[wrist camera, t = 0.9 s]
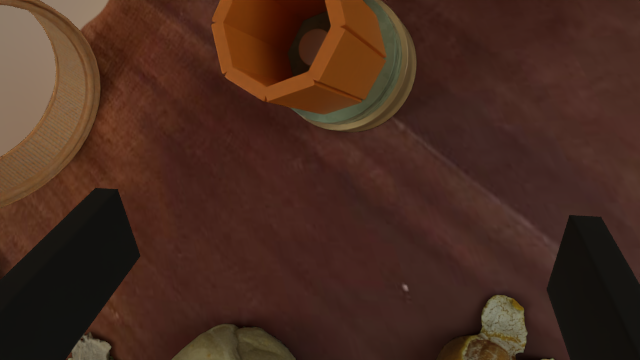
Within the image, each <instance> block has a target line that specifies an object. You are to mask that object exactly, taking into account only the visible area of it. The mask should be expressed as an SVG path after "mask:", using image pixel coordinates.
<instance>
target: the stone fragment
mask: <svg viewBox="0 0 640 360" xmlns="http://www.w3.org/2000/svg"><path fill="white" fill-rule="evenodd" d="M84 334H85V333H84ZM81 338H83V341H81V340H79V341H78V343H77V344H76V345H75V347H74V348H73V350H72V351H71V353H72V356H73V358H69V359H68V360H110V359H109V357H110V358H111V360H112V359H113V357H111V356H109V355H110V352H109V350H110V349H111V346H110V344H108V343H107V342H106V341H104V340H102V341H100V340H99V339H94V337H93V338H92V335H91V332H89V333H88V334H87V335H86V336H84V335H83V336H82V337H81ZM74 356H75V357H74ZM113 360H114V359H113Z"/></svg>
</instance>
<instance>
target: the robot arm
mask: <svg viewBox="0 0 640 360" xmlns="http://www.w3.org/2000/svg"><path fill="white" fill-rule="evenodd" d="M139 257H140V253H139V250H138V247H137V244H136V241H135V238H134V236H133V233H132V230H131V227H130V224H129V221H128V218H127V215H126V212H125V209H124V206H123V203H122V201H121V198H120V195H119V192H118V189H104V188H95V189H94V190H93V191H92V192H91V193H90V194H89V195H88V196H87V197H86V198H85V199H84V200H82V201H81V202H80V203H79V204H78V205H77V206H76V207H75V208H74V209H73V210H72V211H71V212H70V213H69V214H68V215H67V216H66V217H65V218H64V219H63V220H62V221H61V222H60V223H59V224H58V225H57V226H56V227H55V228H54V229H52V230H51V231H50V232H49V233H48V234H47V235H46V236H45V237H44V238H43V239H42V240H41V241H40V242H39V243H38V244H37V245H36V246H35V247H34V248H33V249H32V250H31V251H30V252H29V253H28V254H27V255H26V256H25V257H24V258H22V259H21V260H20V261H19V262H18V263H17V264H16V265H15V266H14V267H13V268H12V269H11V270H10V271H9V272H8V273H7V274H6V275H5V276H4V277H3V278H2V279H1V280H0V360H65V359H66V358H67V356H68V355H69V354H70V352H71V351H72V350H73V348H74V347H75V345H76V344H77V343H78V341H79V340H80V339H81V337H82V336H83V334H84V333H85V332H86V330H87V329H88V327H89V326H90V325H91V323H92V322H93V321H94V319H95V318H96V316H97V315H98V314H99V312H100V311H101V310H102V308H103V307H104V305H105V304H106V303H107V301H108V300H109V299H110V297H111V296H112V294H113V293H114V292H115V290H116V289H117V287H118V286H119V285H120V283H121V282H122V281H123V279H124V278H125V276H126V275H127V274H128V272H129V271H130V270H131V268H132V267H133V265H134V264H135V263H136V261H137V260H138V258H139ZM547 292H548V295H549V298H550V301H551V304H552V307H553V310H554V312H555V315H556V318H557V321H558V324H559V327H560V330H561V333H562V336H563V339H564V342H565V345H566V348H567V351H568V354H569V357H570V360H640V284H639V283H638V281H637V279H636V277H635V276H634V274H633V272H632V270H631V269H630V267H629V265H628V263H627V262H626V260H625V258H624V256H623V255H622V253H621V251H620V249H619V248H618V246H617V244H616V242H615V241H614V239H613V237H612V235H611V234H610V232H609V230H608V228H607V227H606V225H605V223H604V221H603V220H602V218H601V217H593V216H576V215H569V219H568V222H567V225H566V228H565V232H564V235H563V238H562V241H561V245H560V248H559V251H558V254H557V258H556V261H555V264H554V267H553V270H552V274H551V277H550V280H549V283H548V287H547Z"/></svg>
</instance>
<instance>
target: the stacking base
mask: <svg viewBox="0 0 640 360" xmlns="http://www.w3.org/2000/svg"><path fill="white" fill-rule="evenodd" d="M363 1H364V2H365V3H366V4H367V5H368V6H369V7H370V9H371V10H372V11H373V12H374V13H375V15H376V16H377V19H378V23H379V27H380V31H381V35H382V39H383V43H384V47H385V52H386V56H387V57H386V58H383V59H385V60H386V62H385V64H384V66H383V68H382V70H381V71H380V73H379V75H378V77H377V79H376V80H375V82H374V84H373V86H372V88H371V90H370V91H369V93H368V95H367V97H366V99H365V100H363V99H361V100H362V103H359V104H356V105H353V106H350V107H346V108H343V109H340V110H337V111H334V112H331V113H328V114H325V115H323V114H317V113H313V112H309V111H304V110H300V109H296V108H291V107H290V108H291V109H292V110H294V111H295V112H296V113H298V114H299V115H300V116H301V117H302V118H304V119H305V120H307V121H308V122H310V123H312V124H314V125H316V126H318V127H321V128H325V129H330V130H336V131H342V132H361V131H365V130H369V129H372V128H374V127H377V126H379V125H380V124H382V123H384V122H385V121H387V120H388V119H390V118H391V117H392V116H393V115H394V114H395V113H396V112H397V111H398V110H399V109H400V108H401V106H402V105H403V104H404V102H405V101H406V99H407V97H408V95H409V93H410V91H411V89H412V86H413V83H414V79H415V74H416V52H415V47H414V44H413V40H412V38H411V36H410V34H409V32H408V30H407V29H406V27H405V26H404V24H403V23H402V22H401V20H400V19H399V18H398V17H397V16H396V14H395V13H394V12H393V11H392V10H391V9H390V8H389V7H388V6H387V5H386V4H385V3H383V2H382V1H381V0H363ZM330 28H331V24H330V20H329V16H328V11H325V12H323V13H321V14H318V15H316V16H313V17H311V18H309V19H306V20H304V21H303V22H302V25H301V27H300V29H299V31H298V33H297V35H296V37H295V39H294V41H293V43H292V45H291V47H290V49H289V51H288V57H289V61H290V65H291V70H292V74H293V77H295V76H297V75H300V74H303V73H306V72H308V71H309V69H310V67H311V65H312V63H313V61H314V59H315V57H316V55H317V53H318V51H319V49H320V48H321V46H322V44H323V42H324V40H325V38H326V36H327V34H328V32H329V30H330Z"/></svg>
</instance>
